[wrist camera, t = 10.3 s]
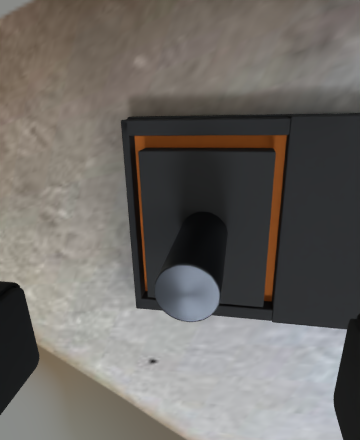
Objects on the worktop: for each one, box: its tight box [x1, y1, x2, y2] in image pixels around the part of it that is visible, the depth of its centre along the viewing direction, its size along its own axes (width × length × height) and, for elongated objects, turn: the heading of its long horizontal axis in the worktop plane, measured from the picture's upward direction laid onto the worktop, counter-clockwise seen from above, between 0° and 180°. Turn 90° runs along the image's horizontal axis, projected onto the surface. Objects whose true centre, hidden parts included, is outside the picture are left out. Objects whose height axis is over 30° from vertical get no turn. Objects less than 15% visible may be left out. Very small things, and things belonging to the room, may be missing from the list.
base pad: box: [121, 113, 360, 329], centre depth 18 cm, size 12×16×2 cm
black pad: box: [138, 148, 276, 322], centre depth 16 cm, size 9×7×7 cm
